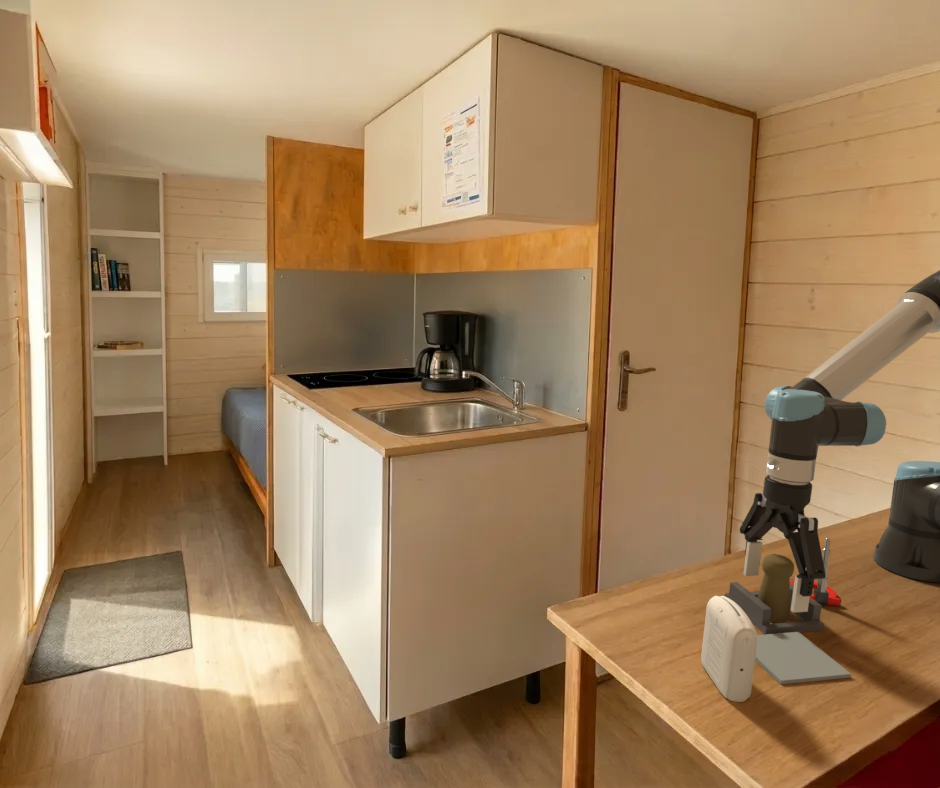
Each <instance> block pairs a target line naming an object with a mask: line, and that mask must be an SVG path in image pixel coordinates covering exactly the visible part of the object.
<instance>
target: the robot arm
mask: <svg viewBox="0 0 940 788" xmlns="http://www.w3.org/2000/svg"><path fill="white" fill-rule="evenodd" d="M938 332H940V269H939V270H937V271H935V272H934V273H932V274H930V275H928V276H927V277H925V278H923V279H922V280H921V281H919V282H918V283H916V284H915V285H913V286H912V287H911V288H909V289H908V290H907V291H905V292H904V293H902V295H900V296H899V298H898V299H897V305H896V306H895V307H893V308H892V309H890V310H889V311H888V312H887V313H885V314H884V315H883V316H882V317H881V318H879V319H878V320H877V321H875V322H874V323H872V324H871V325H869V327H868V328H866V329H865V330H864V331H862V333H860V334H859V335H858V336H856V337H855V338H853V339H852V340H851V341H849V342H848V343H847V344H846V345H844V346H843V347H842V348H840V350H839V349H838V351H837V352H835V353H834V354H833V355H831V356H830V357H829V358H828V359H826V360H825V361H824V362H822V363H821V364H820V365H819V366H817V367H816V368H815V369H814V370H812V371H811V372H810V373H808V374H807V375H806V376H805V377H803V378H802V379H801V380H799V381H798V382H797V383H796V384H794V385H793V386H790V385H780V386H776V387H773V389H771V391H769V392H768V393H767V395H766V397H765V400H764V411H765V414H766V416H767V417H768V418H769V419H770V420H771V424H770V435H769V445H768V455H767V462H766V470H765V473H766V474H767V475H766V476H765V477H764V480H763V481H764V482H763V489H762V492H756V493H755V495H754V498H753V503H752V505H751V507H750V509H749V510H748V513H747V514H746V516H745V517H744V519H743V522H742V523H741V526H740V527H739V533H740V534H741V535H742V534H743V535H744V539H745V541H746V542H745V549H744V550H745V551H744V555H745V558H744V563H743V564H744V566H743V575H744V576H745V577H750V576H751V577H752V576H753V577H755V576H759V574H760V568H761V567H760V566H761V558H762V551H763V542H762V541H763V537H764V536H765V535H766V534H767V533H768V532H770V531H771V530H772V528H775V529H777V530H778V531H780V533H783V534H782V535H783V536H784V538H785V539H787V541H788V544H789V546H790V547H789V548H790V549H791V553H792V556H793V558H794V562H795V564H796V567H797V571H798V573H797V574H795V576H794V580H795V581H794V589H793V596H792V603H791V611H792V612H793V613H792V612H791V611H790V612H791V613H792V614H794V612H808V605H809V598H810V596H811V595H812V596H813V591H814V588H813V584H814V582H815V580H818V579H824V578H825V577H826V574H825V569H824V564H823V558H822V553H823V552H822V548H821V544H820V543H821V542H820V538H819V532H818V531H819V529H818V528H819V519H818V518H817V517H808V516H806V515H805V508H806V507H807V506H808V505H810V503H811V498H812V492H813V491H812V490H813V484H812V482H813V481H814V479H815V472H816V464H817V457H818V451H819V447H820V446H822V447H823V446H824V447H825V446H827V447H830V446H833V447H837V446H838V447H840V446H841V447H842V446H843V447H845V446H846V447H849V446H850V447H851V446H853V447H861V446H868V445H869V446H870V445H874V444H876V443H878V442H880V441H881V440H882V439H883V437H884V435H885V433H886V429H887V427H886V426H887V419H886V416H885V413H884V411H883V410H882V409H881V408H880V407H879V406H878V405H877V404H874V403H871V402H863V401H855V402H851V401H850V402H849V401H844V399H845V398H846V397H848V395H850V394H852V392H854V391H855V390H857V389H858V388H860V386H861V385H862V384H864V383H865V382H867V381H868V380H869V379H870V378H872V377H873V376H874V375H875V374H877V373H878V372H879V371H881V370H882V369H884V368H885V367H886V366H888V364H890V363H892V361H893V360H895V359H897V358H898V357H899V356H900V355H902V354H903V353H904V352H905V351H907V350H908V349H909V348H910V347H912V346H913V345H914V344H916V343H917V342H918V341H920V340H921V339H922V338H924V337H925V336H926V335H927V334H934V333H938ZM890 501H891V502H890V509H889V517H888V524H887V526H886V529H885V531H884V532H883V534H882V535H881V537H880V539H879V542H878V543H877V544H876V545H875V548H874V551H873V560H874V562H875V563H876V564H877V565H879V567H881V568H884V569H886V570H887V571H889V572H892V573H894V574H897V575H898V576H899V575H900V576H903V577H906V578H909V579H913V580H918V581H922V582H928V583H929V582H930V583H940V461H927V460H926V461H925V460H909V461H908V460H907V461H903V462H902V463H900V464H899V465H898V467H897V468H896V472H895V477H894V478H893V487H892V495H891V500H890ZM796 530H797V531H796Z"/></svg>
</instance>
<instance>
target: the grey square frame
mask: <svg viewBox="0 0 940 788" xmlns="http://www.w3.org/2000/svg"><path fill="white" fill-rule="evenodd" d="M793 589H794V585H792V584H791V583H790V613H792V614H793V615H795V616H796V617H798V618H799V619H800V620H801V621H793V622H792V621H791V622H790V621H789V622H785V623H771V622H770V616H771V608H769V607H768V606H767V605H766V604H764V603H763V602H762V601H761V600H759V599H758V594H759V590H757V591H749V590H748V589H747V588H746V587H744V586H743V585H742V584H741V583H739V582H738V581H736V582H733V581H732V582H730V583H729V590H728V593H727V592H726V593H724V596H725V597H727V598H729V599H731V600H733V601H734V602H735V603H736V604H738V605H739V606H740V607H741V609H742V610H743V611H744V612H745V613H746V615H747V616H748V617H749V619H750V621H751V622H752V624H753V626H754V627H756V629H758V630H759V631H760V632H761V633H763V635H765V634H777V633H789V632H799V633H804V632H807V633H808V632H815V631H824V630H825V623H824V622H823V621H822V620H821V613H822V607H823V605H821V604H819V603H818V602H816V601H815V600H813V599H812V598H811V597H810V598H809V605H808V612H794V613H793V612H792V611H791V603H792V596H793Z"/></svg>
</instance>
